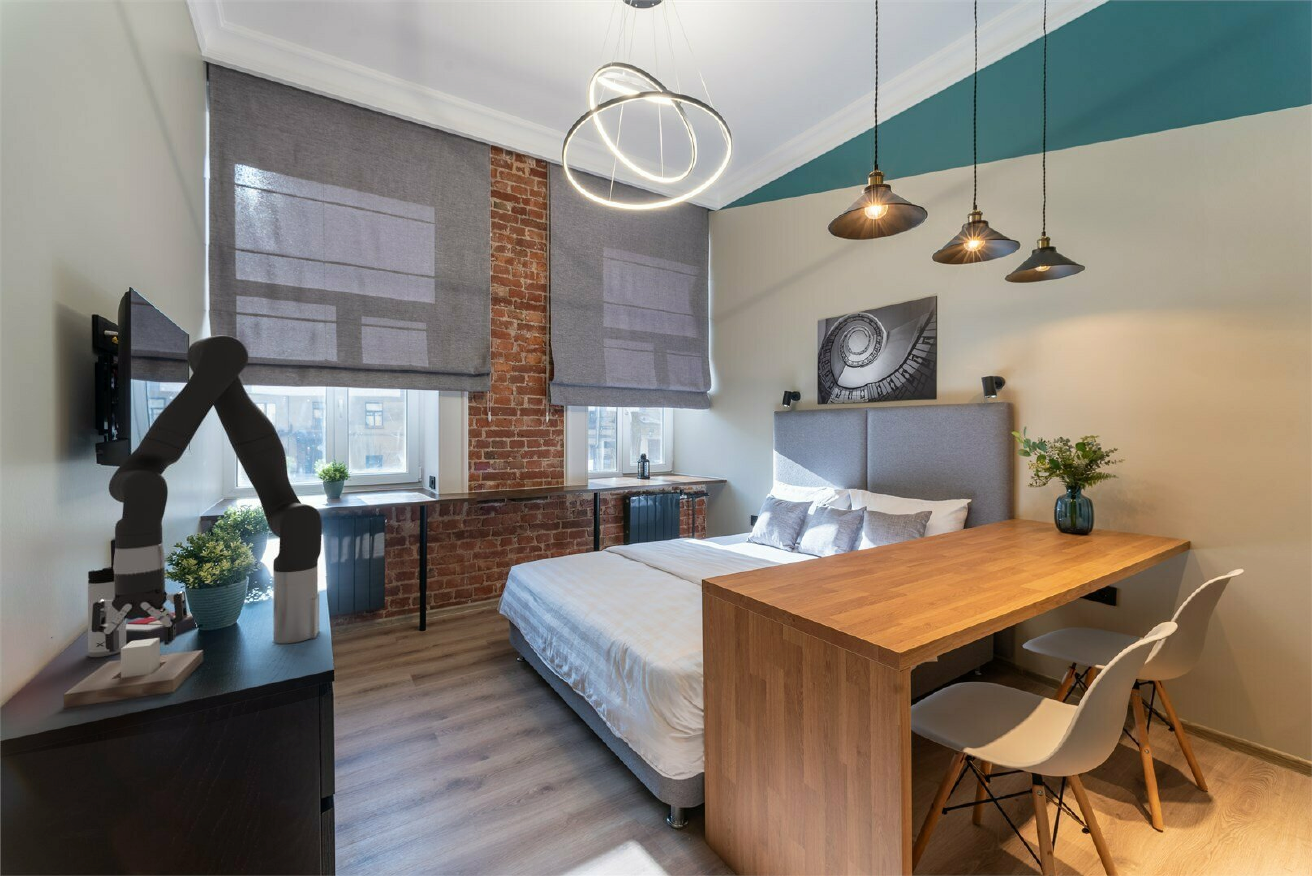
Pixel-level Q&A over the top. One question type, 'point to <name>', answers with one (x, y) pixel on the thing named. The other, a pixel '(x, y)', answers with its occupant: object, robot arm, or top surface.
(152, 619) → the calculator
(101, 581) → the travel mug
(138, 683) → the socket base
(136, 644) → the peg
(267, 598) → the top surface
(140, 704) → the top surface
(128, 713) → the top surface
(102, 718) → the top surface
